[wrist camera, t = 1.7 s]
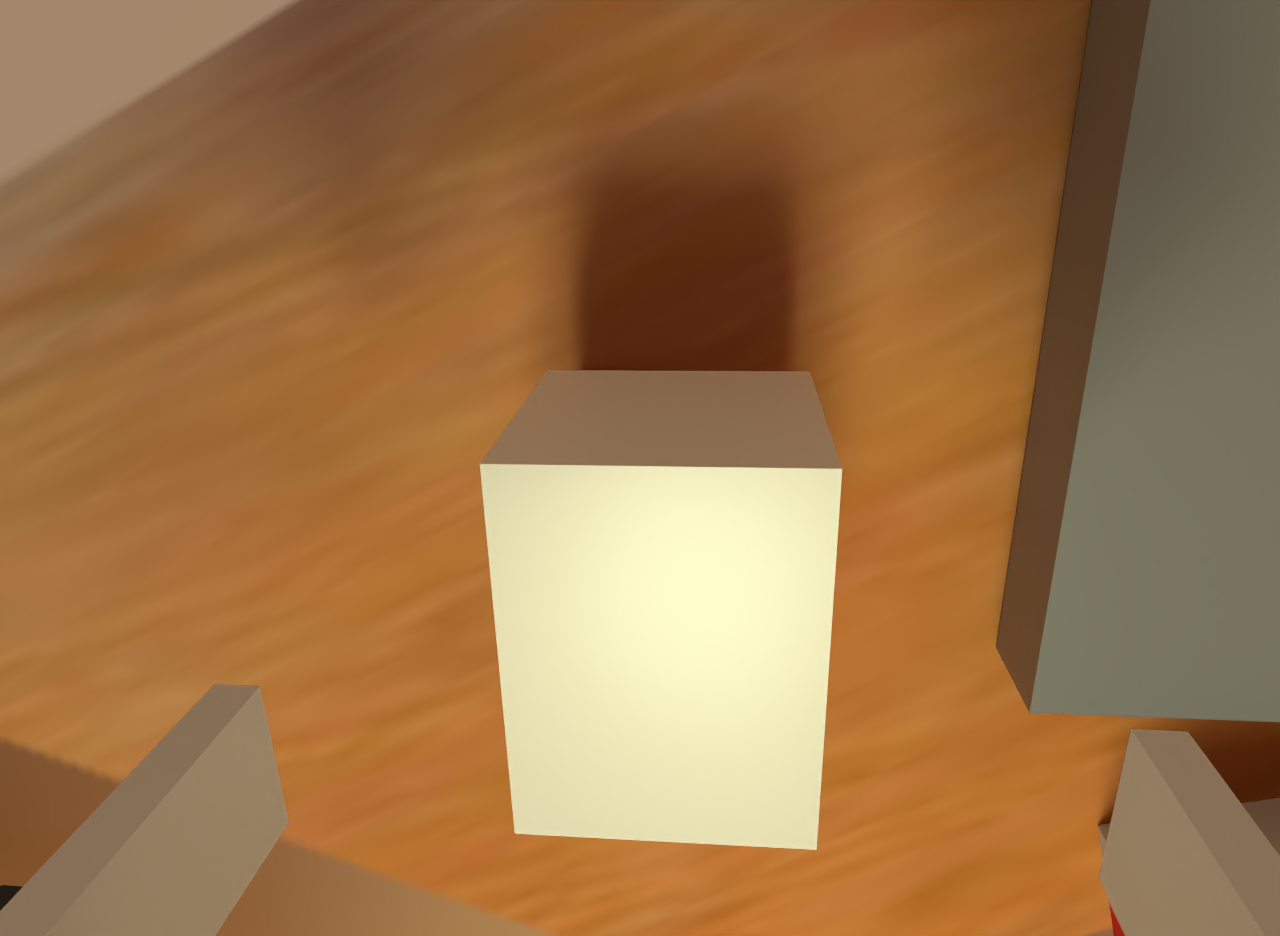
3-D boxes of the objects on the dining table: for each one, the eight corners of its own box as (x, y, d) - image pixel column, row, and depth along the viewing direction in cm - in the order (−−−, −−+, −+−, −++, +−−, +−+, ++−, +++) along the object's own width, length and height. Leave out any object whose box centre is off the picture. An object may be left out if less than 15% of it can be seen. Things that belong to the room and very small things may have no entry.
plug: (582, 605, 26) (515, 833, 18) (569, 340, 23) (480, 463, 15) (787, 611, 25) (816, 849, 17) (799, 340, 23) (842, 469, 14)
